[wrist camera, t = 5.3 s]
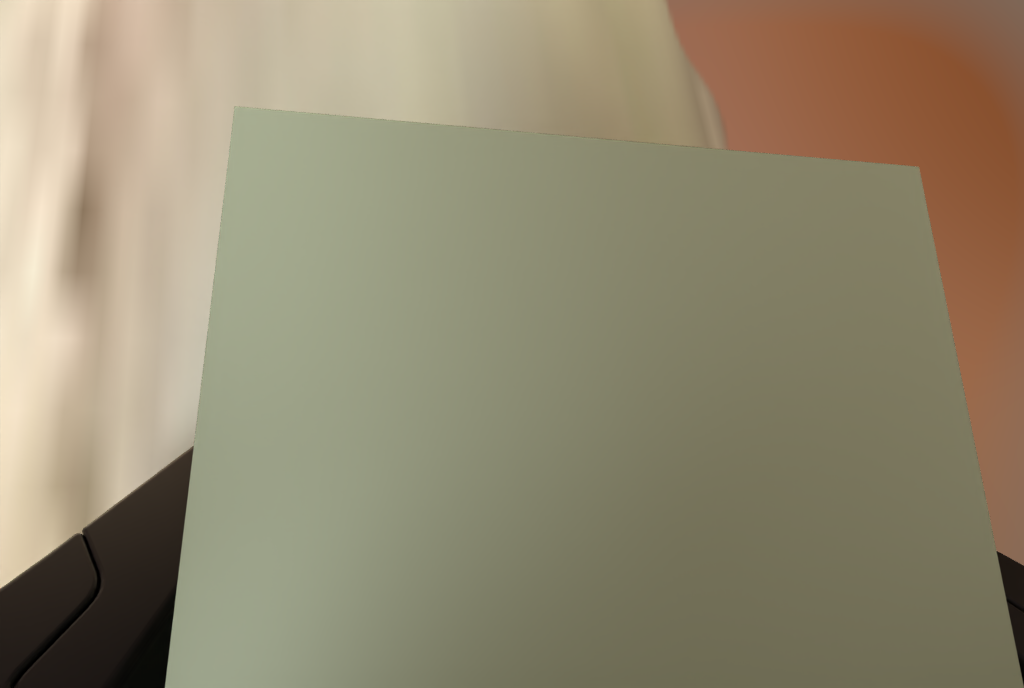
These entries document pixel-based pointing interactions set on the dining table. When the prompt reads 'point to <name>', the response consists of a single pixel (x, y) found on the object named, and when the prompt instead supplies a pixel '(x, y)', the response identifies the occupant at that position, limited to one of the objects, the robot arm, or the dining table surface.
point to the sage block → (578, 422)
